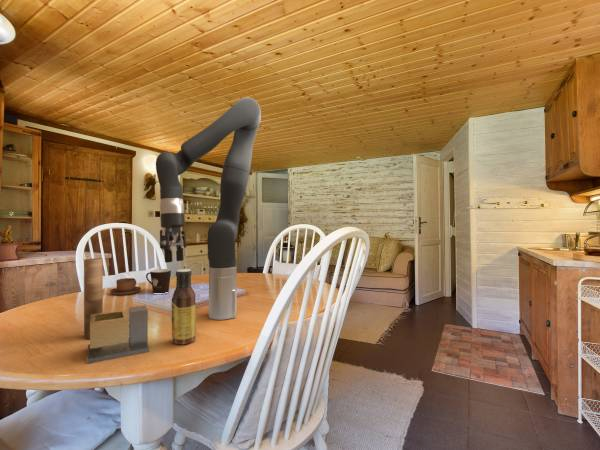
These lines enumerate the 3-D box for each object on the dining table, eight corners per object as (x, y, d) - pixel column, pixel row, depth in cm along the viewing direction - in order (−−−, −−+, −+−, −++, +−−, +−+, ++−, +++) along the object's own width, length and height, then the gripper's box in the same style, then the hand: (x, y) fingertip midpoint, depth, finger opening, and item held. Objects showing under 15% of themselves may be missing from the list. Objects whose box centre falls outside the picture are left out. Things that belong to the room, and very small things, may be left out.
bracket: (88, 348, 82) (88, 309, 82) (144, 338, 89) (144, 303, 89) (87, 363, 74) (87, 320, 73) (148, 351, 80) (149, 312, 80)
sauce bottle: (177, 336, 91) (177, 267, 90) (199, 337, 90) (199, 267, 90) (167, 345, 84) (167, 271, 84) (190, 346, 84) (190, 271, 84)
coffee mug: (174, 292, 142) (174, 270, 142) (155, 296, 136) (155, 273, 136) (163, 288, 150) (163, 267, 150) (144, 291, 144) (144, 269, 144)
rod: (105, 333, 92) (105, 258, 92) (97, 339, 88) (97, 260, 88) (89, 334, 92) (89, 258, 91) (80, 339, 87) (80, 260, 87)
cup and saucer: (117, 290, 146) (117, 277, 146) (145, 290, 147) (145, 277, 147) (104, 297, 134) (104, 282, 134) (134, 296, 136) (134, 282, 135)
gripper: (174, 210, 99) (176, 262, 98) (191, 214, 113) (193, 259, 112) (150, 211, 99) (152, 263, 98) (171, 215, 113) (173, 261, 112)
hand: (174, 261), depth 105 cm, fingers open, 8 cm apart
